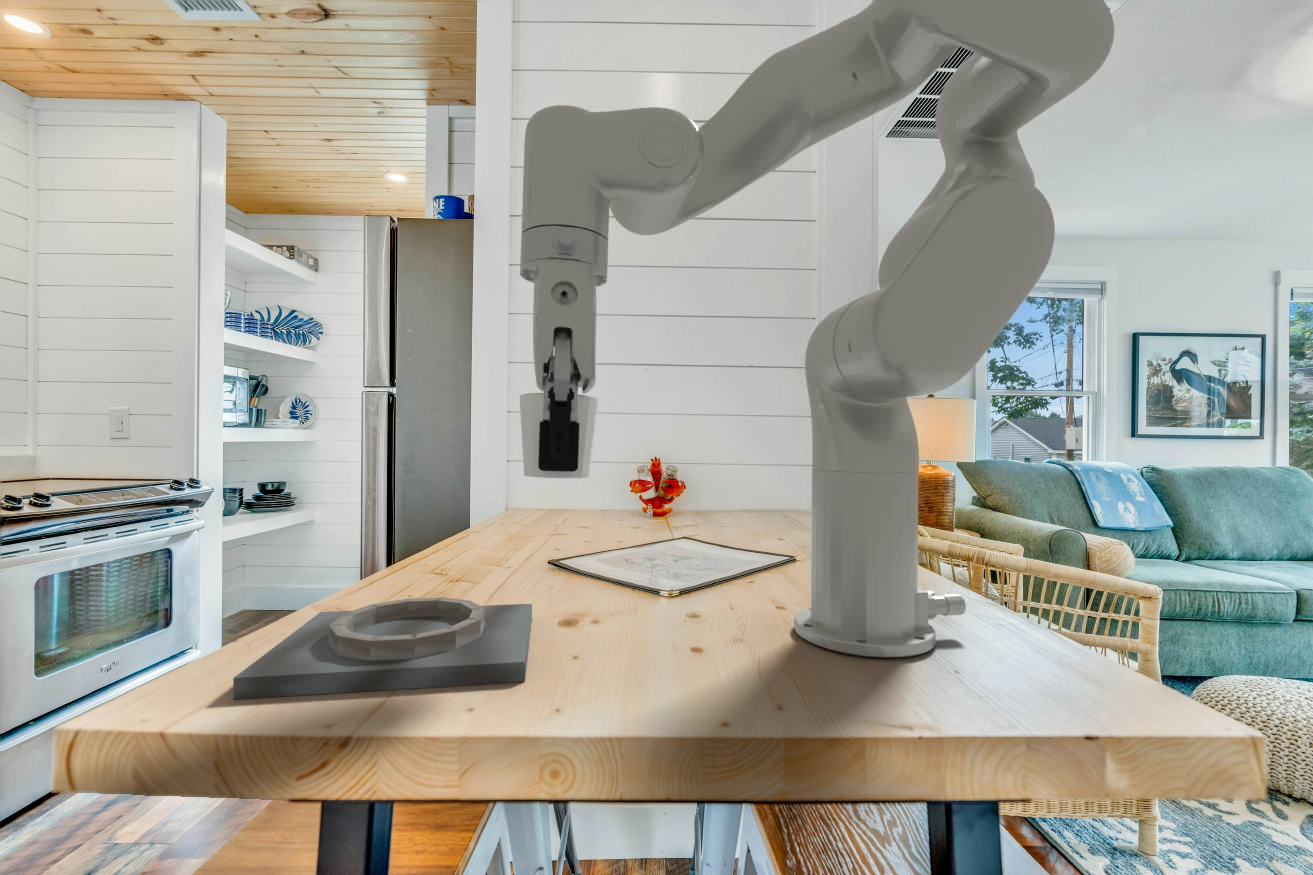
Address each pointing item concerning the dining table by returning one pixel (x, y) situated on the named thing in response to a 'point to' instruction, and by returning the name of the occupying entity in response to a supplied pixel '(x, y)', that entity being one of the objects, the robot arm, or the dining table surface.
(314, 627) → the ring board
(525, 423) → the white cup
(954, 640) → the dining table surface
